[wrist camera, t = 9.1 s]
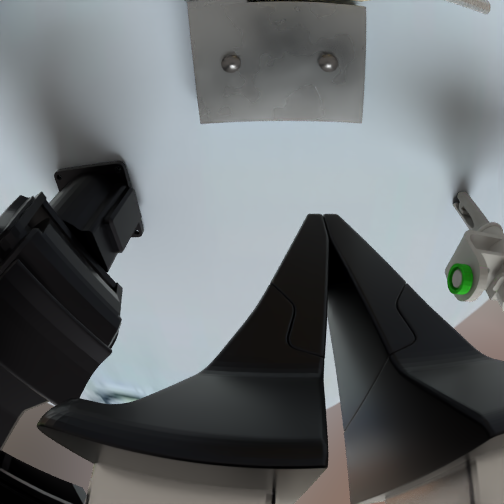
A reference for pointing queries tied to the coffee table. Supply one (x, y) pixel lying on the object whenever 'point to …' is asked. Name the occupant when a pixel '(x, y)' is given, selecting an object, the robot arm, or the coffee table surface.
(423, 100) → the coffee table surface
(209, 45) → the fixed leaf
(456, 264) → the mechanical component
